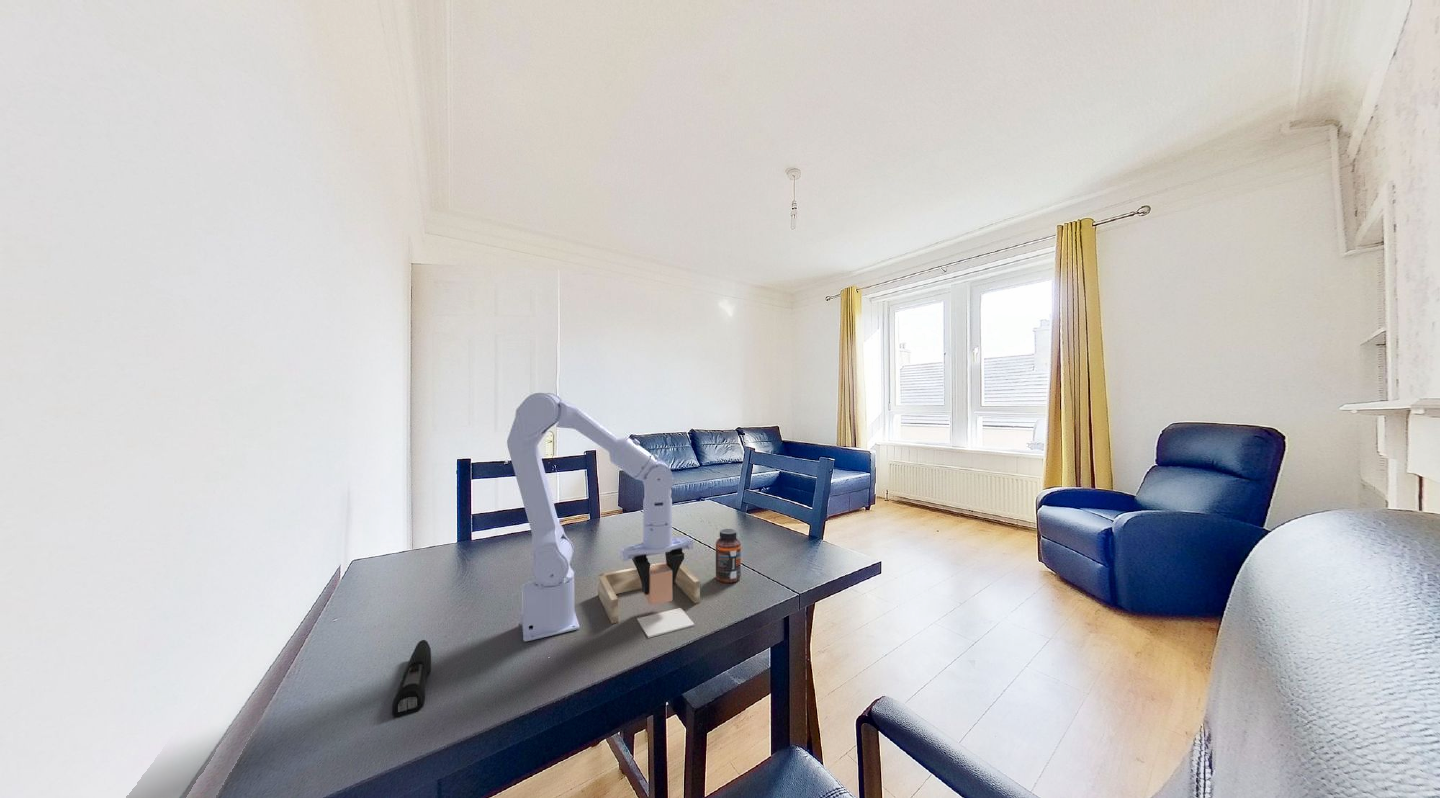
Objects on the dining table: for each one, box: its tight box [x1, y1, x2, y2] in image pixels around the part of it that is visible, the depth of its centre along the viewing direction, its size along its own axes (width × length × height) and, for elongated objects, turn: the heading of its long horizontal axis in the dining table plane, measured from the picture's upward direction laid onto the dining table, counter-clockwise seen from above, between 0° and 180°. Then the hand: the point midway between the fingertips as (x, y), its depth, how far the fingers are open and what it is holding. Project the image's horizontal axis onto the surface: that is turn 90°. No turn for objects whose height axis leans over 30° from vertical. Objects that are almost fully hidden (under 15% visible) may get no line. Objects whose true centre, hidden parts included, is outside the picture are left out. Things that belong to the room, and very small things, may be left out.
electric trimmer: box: [391, 639, 432, 719], centre depth 65 cm, size 4×16×3 cm, turn 28°
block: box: [643, 562, 673, 606], centre depth 86 cm, size 4×4×6 cm
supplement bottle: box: [715, 528, 742, 584], centre depth 102 cm, size 6×6×11 cm
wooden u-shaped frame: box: [597, 561, 701, 624], centre depth 92 cm, size 18×13×4 cm
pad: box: [636, 607, 695, 639], centre depth 82 cm, size 9×7×1 cm
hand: (658, 589), depth 86 cm, fingers closed on block, 4 cm apart
